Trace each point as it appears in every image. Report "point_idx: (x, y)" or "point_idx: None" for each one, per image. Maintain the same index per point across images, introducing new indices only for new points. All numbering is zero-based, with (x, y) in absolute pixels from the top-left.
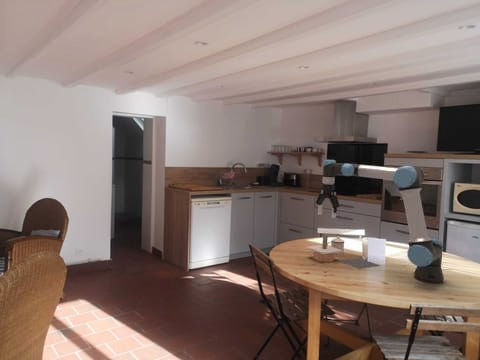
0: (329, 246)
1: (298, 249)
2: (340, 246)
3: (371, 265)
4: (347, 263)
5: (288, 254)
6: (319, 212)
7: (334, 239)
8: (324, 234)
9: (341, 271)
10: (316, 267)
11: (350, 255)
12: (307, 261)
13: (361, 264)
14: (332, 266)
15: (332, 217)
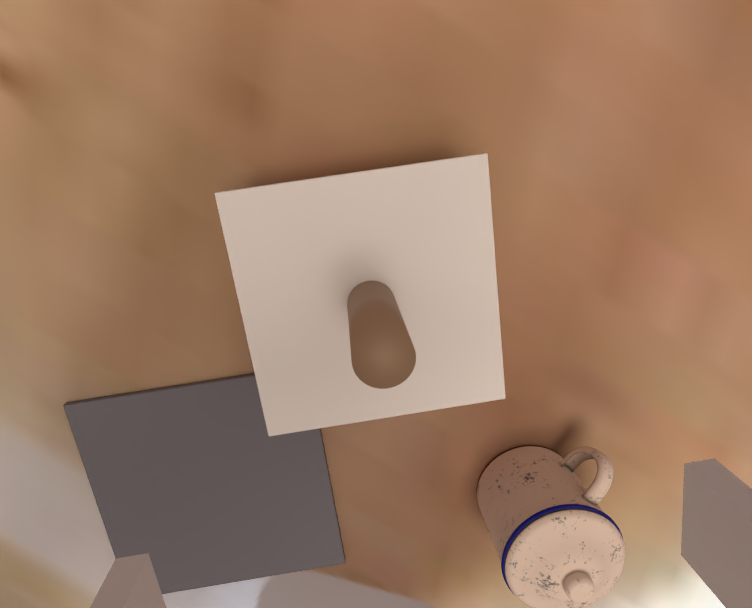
0: (439, 397)
1: (728, 224)
2: (495, 530)
3: (143, 539)
4: (213, 398)
5: (606, 25)
6: (728, 532)
7: (577, 540)
8: (411, 360)
9: (22, 235)
10: (150, 73)
11: (439, 547)
12: (344, 92)
13: (175, 485)
14: (168, 240)
15: (110, 573)
